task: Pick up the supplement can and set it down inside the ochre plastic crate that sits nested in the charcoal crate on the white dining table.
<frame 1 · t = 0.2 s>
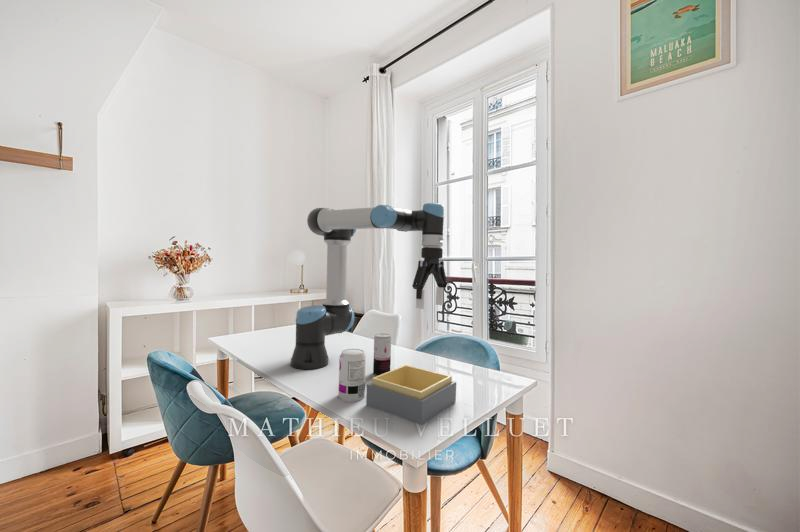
hand: (430, 306, 127), 28 cm above the table, fingers open, 13 cm apart
outer crate: (411, 405, 108), on the table
supplement can: (351, 399, 112), on the table
inner crate: (411, 403, 108), point 1 cm above the table, touching outer crate
beverage can: (381, 374, 137), on the table
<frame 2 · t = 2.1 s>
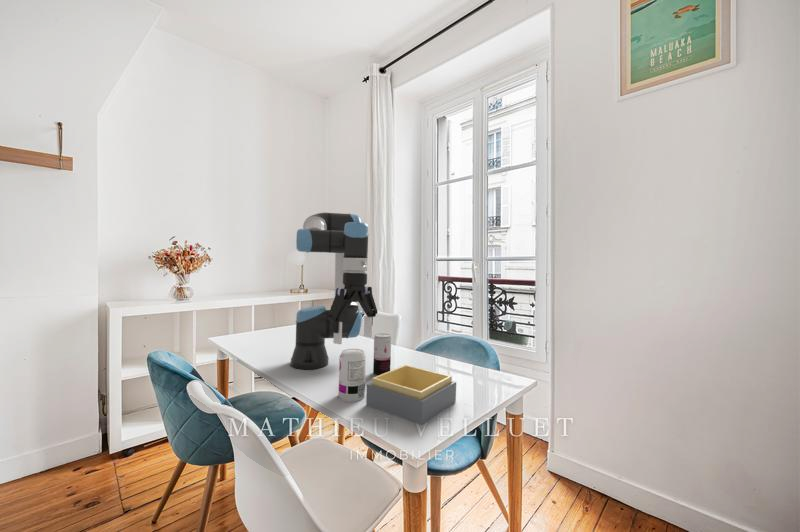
hand: (353, 339, 111), 19 cm above the table, fingers open, 13 cm apart
nothing on the table moved.
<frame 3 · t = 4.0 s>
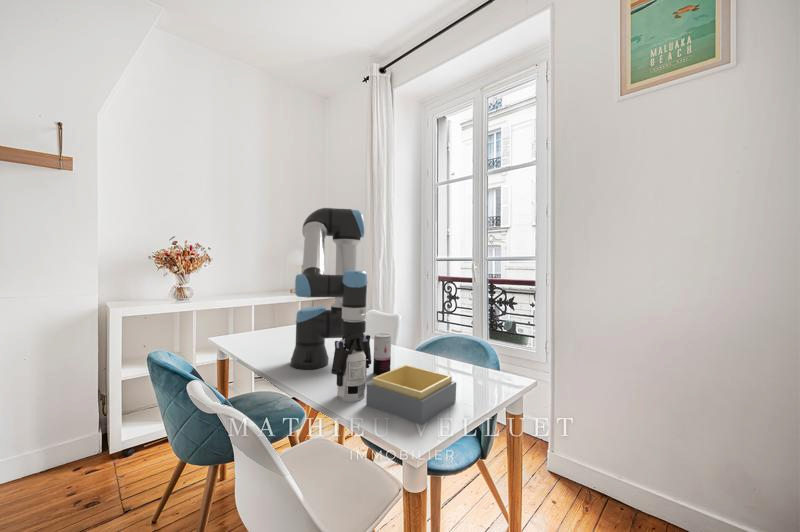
hand: (351, 391, 112), 2 cm above the table, fingers closed on supplement can, 8 cm apart
supplement can: (351, 399, 112), on the table, touching gripper
everything else where it was.
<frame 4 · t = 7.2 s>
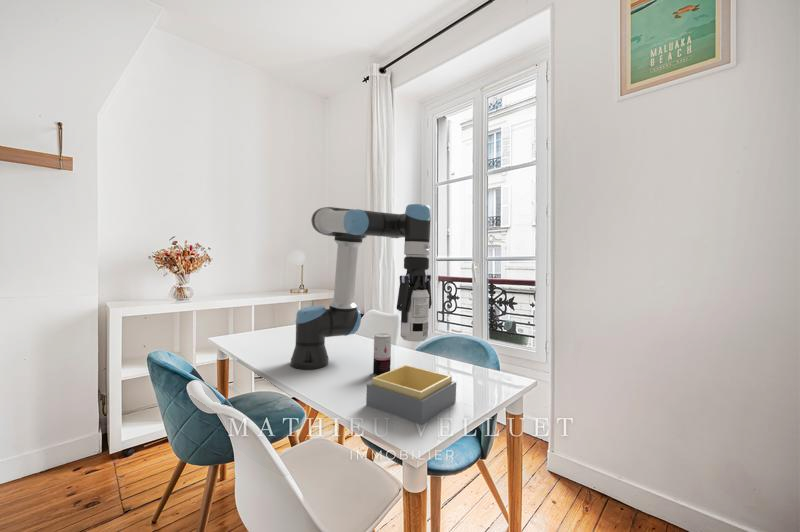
hand: (414, 331, 108), 23 cm above the table, fingers closed on supplement can, 8 cm apart
supplement can: (414, 339, 108), point 20 cm above the table, touching gripper
everything else where it was.
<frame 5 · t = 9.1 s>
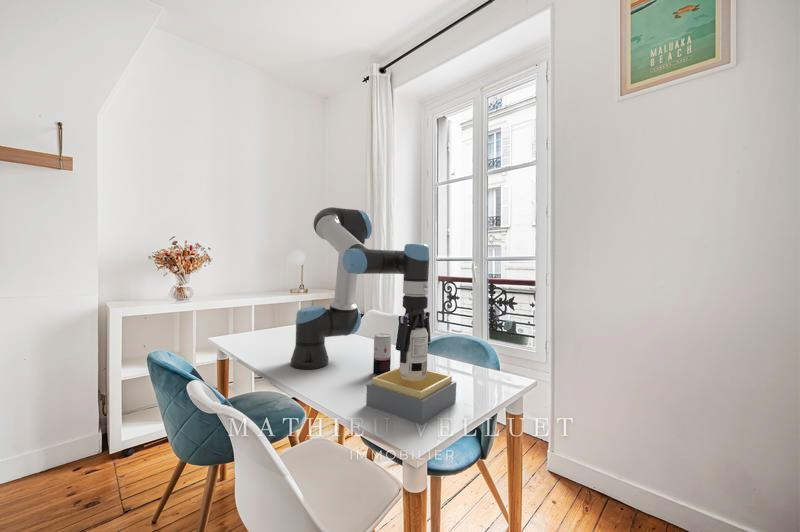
hand: (413, 369, 108), 11 cm above the table, fingers closed on supplement can, 8 cm apart
supplement can: (412, 377, 108), point 9 cm above the table, touching gripper
everything else where it was.
when the fingers open (6 cm above the table, at t = 10.6 s): supplement can drops 2 cm, resting on inner crate.
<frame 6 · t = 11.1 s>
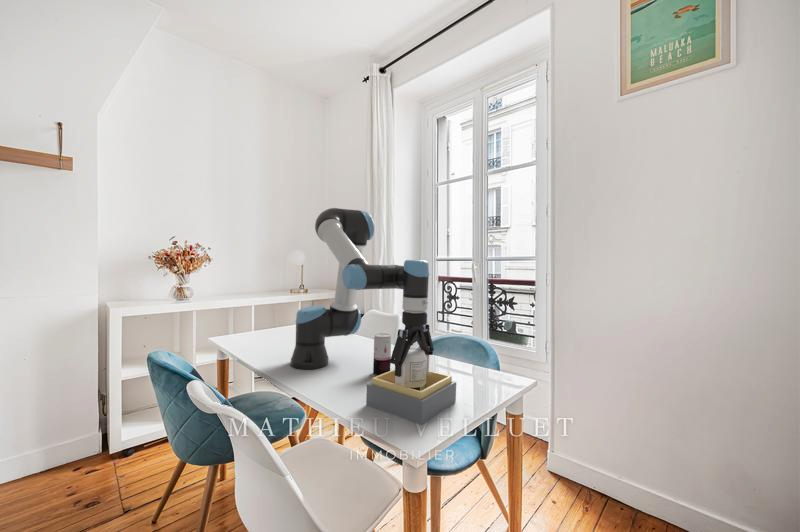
hand: (412, 380, 108), 8 cm above the table, fingers open, 13 cm apart
supplement can: (411, 400, 108), point 1 cm above the table, touching inner crate
inner crate: (411, 403, 108), point 1 cm above the table, touching outer crate, supplement can
everything else where it was.
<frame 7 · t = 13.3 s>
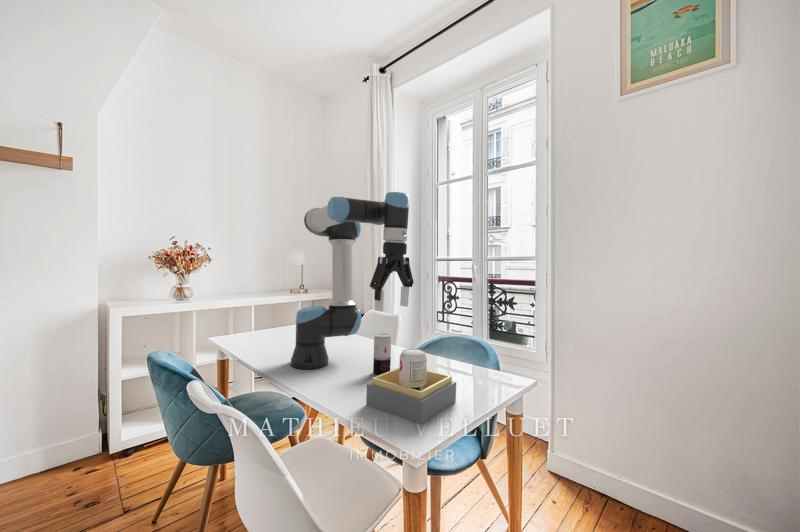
hand: (392, 308, 114), 29 cm above the table, fingers open, 13 cm apart
nothing on the table moved.
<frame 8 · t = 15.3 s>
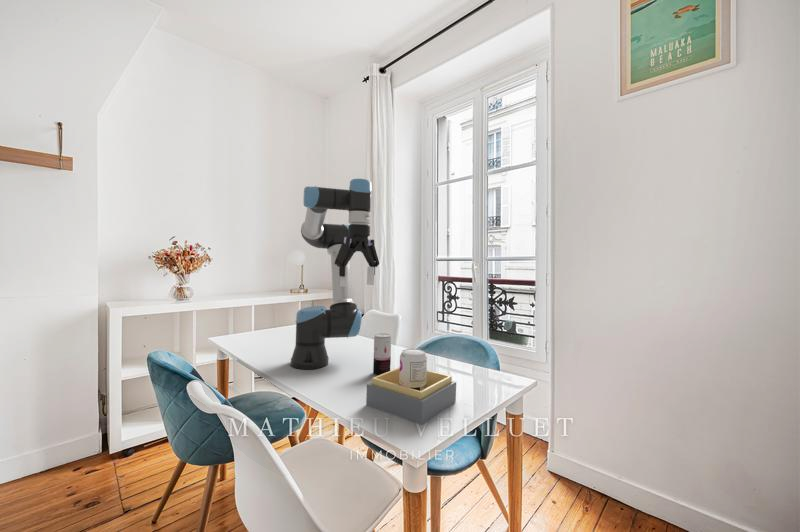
hand: (357, 285, 124), 35 cm above the table, fingers open, 13 cm apart
nothing on the table moved.
at the end: supplement can inside the target area on the inner crate (0.4 cm from its centre), point 0.5 cm above the inner crate's base; supplement can tilted 0°; the gripper is holding nothing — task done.
